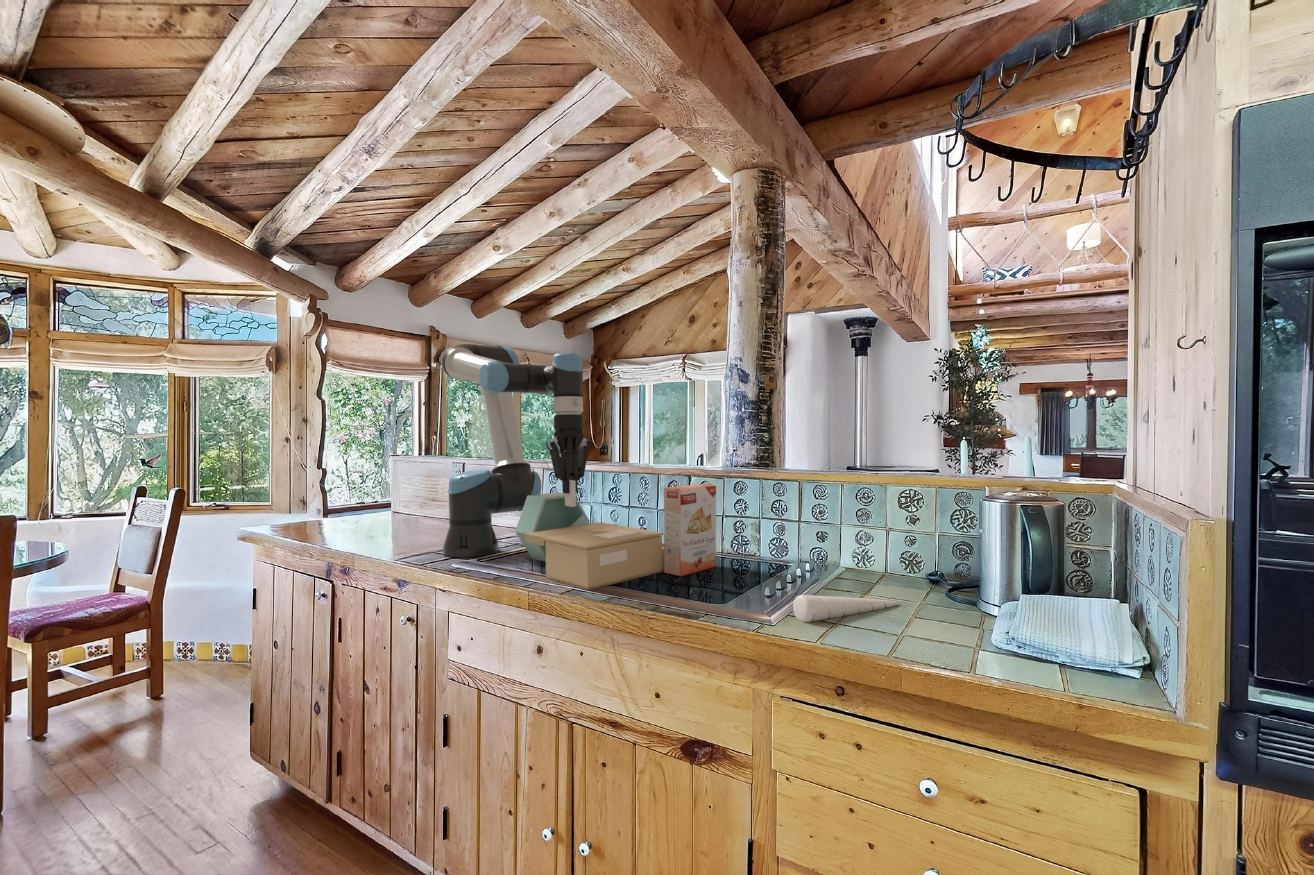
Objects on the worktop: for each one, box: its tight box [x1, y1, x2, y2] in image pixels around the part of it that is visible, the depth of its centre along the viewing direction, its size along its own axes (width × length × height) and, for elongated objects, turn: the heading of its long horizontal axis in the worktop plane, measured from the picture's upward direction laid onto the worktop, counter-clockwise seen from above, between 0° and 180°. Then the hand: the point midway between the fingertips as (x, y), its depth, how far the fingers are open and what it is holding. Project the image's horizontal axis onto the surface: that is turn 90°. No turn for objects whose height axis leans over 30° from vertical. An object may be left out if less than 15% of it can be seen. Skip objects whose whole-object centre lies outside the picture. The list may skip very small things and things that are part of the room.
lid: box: [525, 521, 664, 550], centre depth 147 cm, size 25×24×2 cm
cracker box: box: [663, 483, 717, 577], centre depth 148 cm, size 14×6×21 cm, turn 137°
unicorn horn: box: [792, 594, 900, 623], centre depth 113 cm, size 5×24×5 cm, turn 109°
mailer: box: [545, 535, 663, 591], centre depth 144 cm, size 16×23×9 cm
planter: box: [514, 491, 591, 563], centre depth 164 cm, size 17×8×21 cm
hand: (570, 505), depth 154 cm, fingers closed
